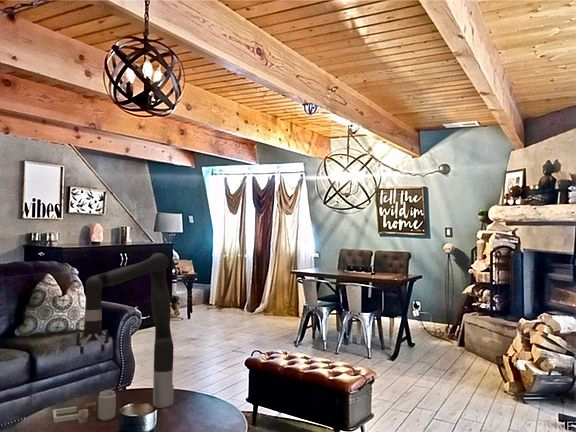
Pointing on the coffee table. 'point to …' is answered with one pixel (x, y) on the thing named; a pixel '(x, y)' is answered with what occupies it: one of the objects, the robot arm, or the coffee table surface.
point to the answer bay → (65, 418)
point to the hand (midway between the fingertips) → (92, 353)
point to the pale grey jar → (106, 405)
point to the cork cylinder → (83, 416)
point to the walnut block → (91, 408)
